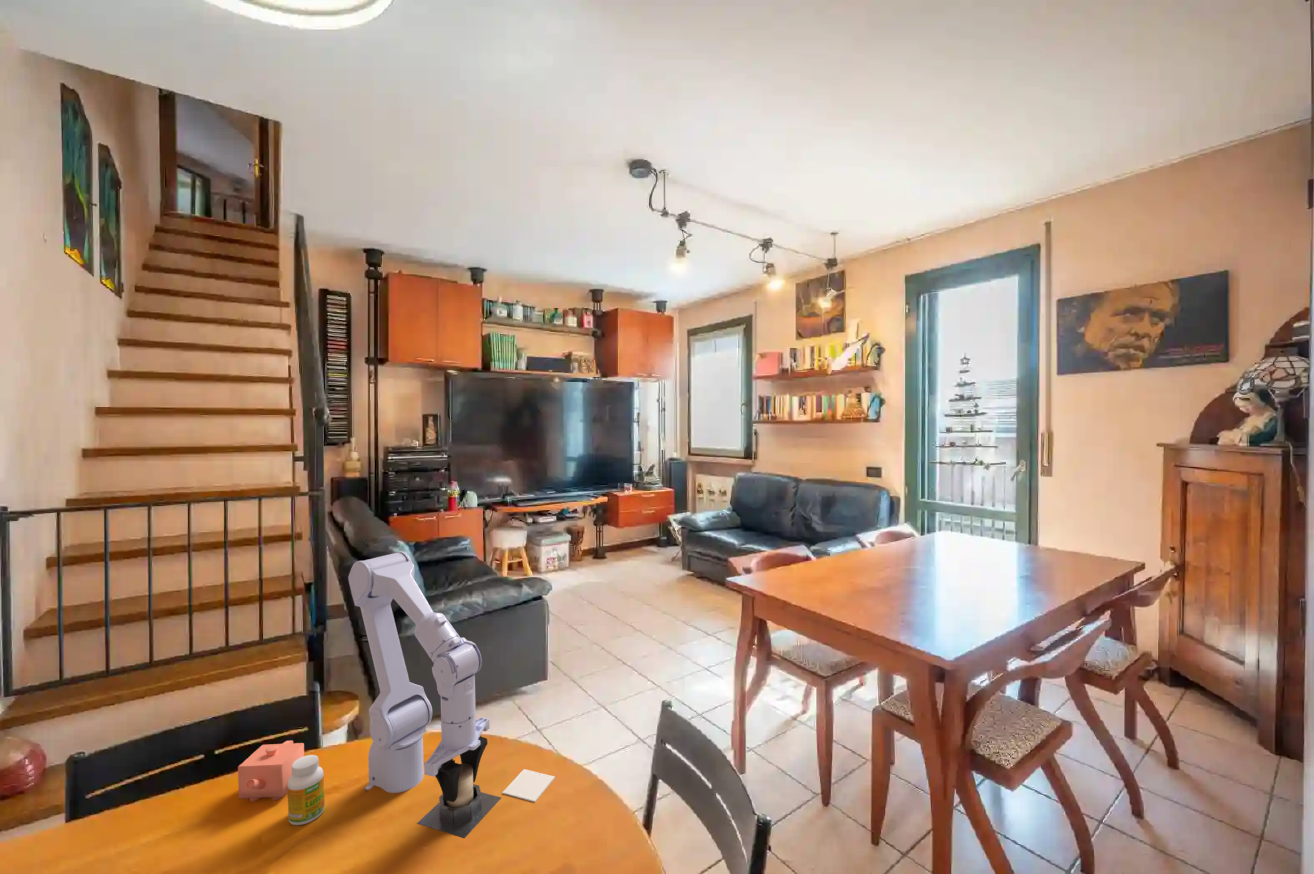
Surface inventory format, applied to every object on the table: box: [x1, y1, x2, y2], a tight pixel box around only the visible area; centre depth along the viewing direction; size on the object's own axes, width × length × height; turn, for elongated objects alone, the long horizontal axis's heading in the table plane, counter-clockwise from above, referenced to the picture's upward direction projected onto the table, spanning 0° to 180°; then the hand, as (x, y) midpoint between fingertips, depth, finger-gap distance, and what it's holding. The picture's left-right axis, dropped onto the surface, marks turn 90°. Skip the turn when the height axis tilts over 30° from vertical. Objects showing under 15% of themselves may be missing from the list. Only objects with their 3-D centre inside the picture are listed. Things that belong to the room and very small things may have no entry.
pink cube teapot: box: [237, 740, 305, 802], centre depth 101 cm, size 8×12×8 cm, turn 4°
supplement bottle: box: [287, 754, 325, 826], centre depth 95 cm, size 5×5×10 cm
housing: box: [416, 783, 502, 839], centre depth 95 cm, size 10×10×3 cm
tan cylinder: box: [447, 764, 474, 809], centre depth 95 cm, size 4×4×7 cm
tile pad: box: [501, 768, 556, 803], centre depth 101 cm, size 7×7×1 cm
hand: (460, 790), depth 95 cm, fingers closed on tan cylinder, 4 cm apart
